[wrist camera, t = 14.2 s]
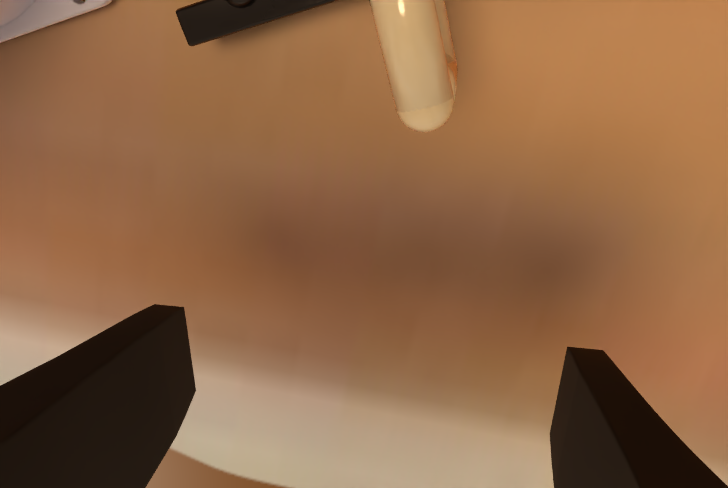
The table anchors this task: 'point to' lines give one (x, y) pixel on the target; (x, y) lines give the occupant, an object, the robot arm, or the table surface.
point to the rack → (235, 16)
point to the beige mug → (418, 60)
